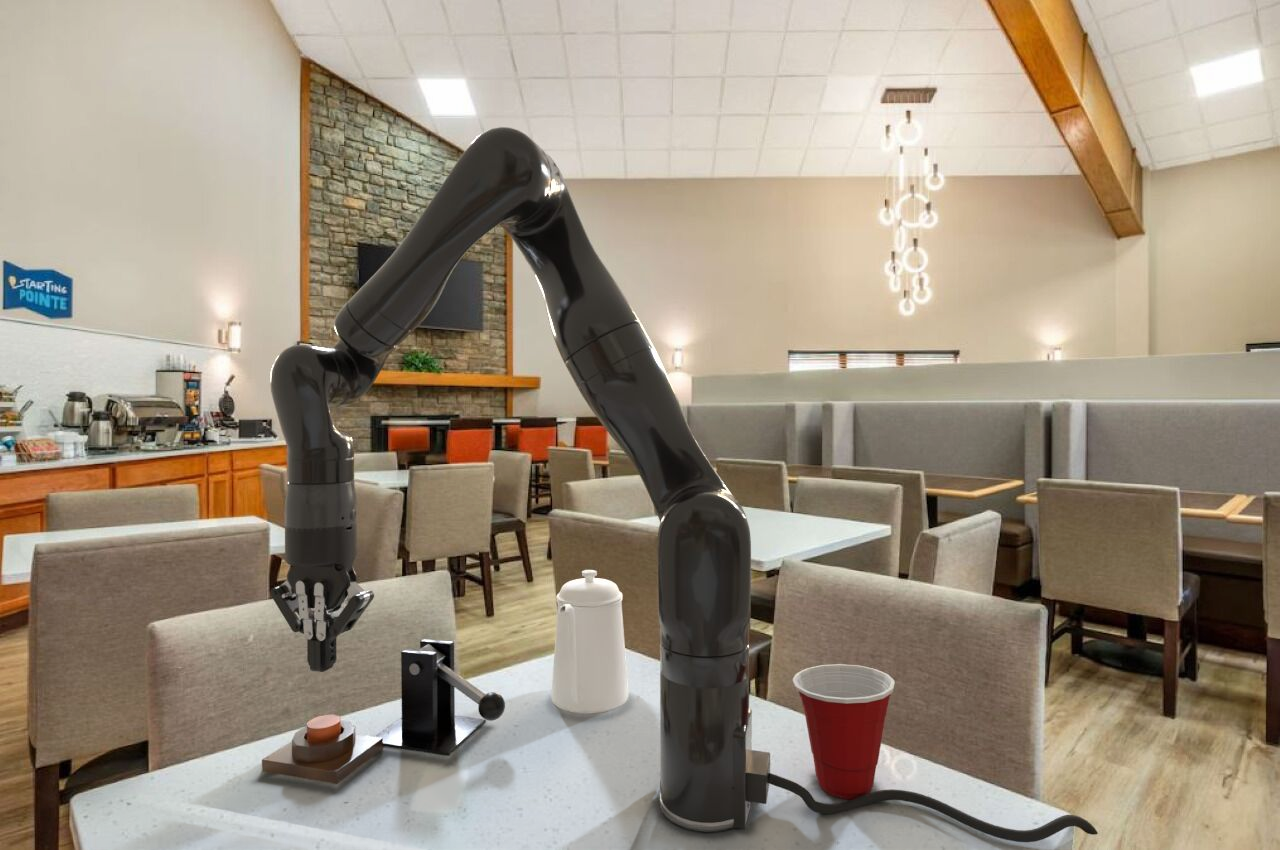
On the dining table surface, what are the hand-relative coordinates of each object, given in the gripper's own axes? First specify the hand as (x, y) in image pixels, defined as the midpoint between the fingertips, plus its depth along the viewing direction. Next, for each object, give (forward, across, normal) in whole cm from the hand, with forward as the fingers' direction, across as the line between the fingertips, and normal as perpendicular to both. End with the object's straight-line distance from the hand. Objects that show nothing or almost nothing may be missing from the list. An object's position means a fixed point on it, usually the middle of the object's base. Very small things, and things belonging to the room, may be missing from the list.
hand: (322, 669), depth 78 cm
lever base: (+11, +8, +9) cm, 17 cm away
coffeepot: (+12, +24, +24) cm, 36 cm away
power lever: (+5, +12, +9) cm, 16 cm away
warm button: (+8, 0, 0) cm, 8 cm away
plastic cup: (+11, +58, +12) cm, 60 cm away
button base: (+12, 0, 0) cm, 12 cm away
